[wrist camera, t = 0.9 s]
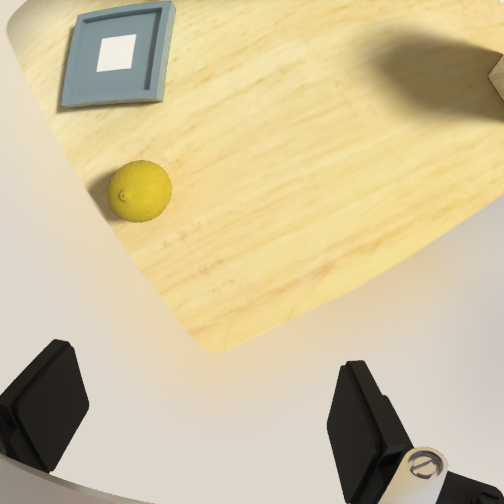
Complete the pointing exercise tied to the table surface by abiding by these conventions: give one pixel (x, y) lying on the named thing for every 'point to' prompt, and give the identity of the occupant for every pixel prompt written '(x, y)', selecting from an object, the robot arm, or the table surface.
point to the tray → (119, 55)
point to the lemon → (139, 191)
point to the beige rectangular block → (498, 77)
